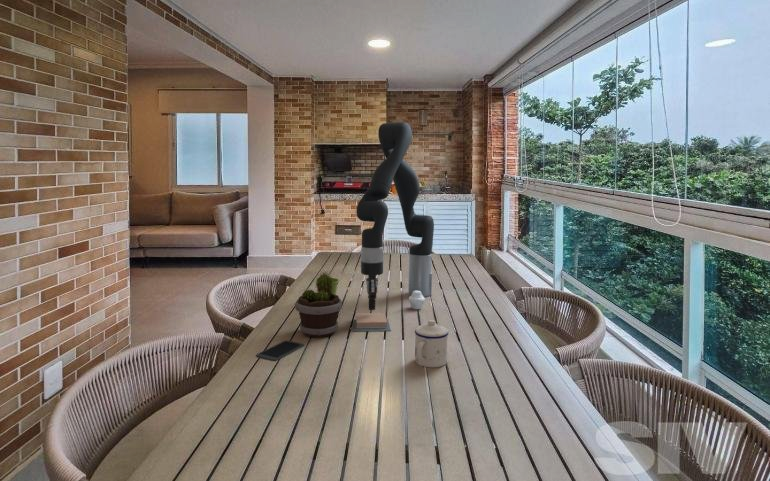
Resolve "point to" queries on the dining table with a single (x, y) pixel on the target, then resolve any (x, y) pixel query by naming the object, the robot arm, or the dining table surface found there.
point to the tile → (371, 320)
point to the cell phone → (280, 350)
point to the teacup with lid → (431, 345)
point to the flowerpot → (319, 309)
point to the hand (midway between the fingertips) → (371, 309)
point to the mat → (370, 328)
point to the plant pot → (333, 285)
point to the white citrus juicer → (416, 300)
